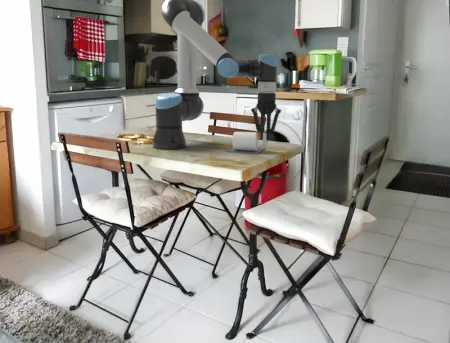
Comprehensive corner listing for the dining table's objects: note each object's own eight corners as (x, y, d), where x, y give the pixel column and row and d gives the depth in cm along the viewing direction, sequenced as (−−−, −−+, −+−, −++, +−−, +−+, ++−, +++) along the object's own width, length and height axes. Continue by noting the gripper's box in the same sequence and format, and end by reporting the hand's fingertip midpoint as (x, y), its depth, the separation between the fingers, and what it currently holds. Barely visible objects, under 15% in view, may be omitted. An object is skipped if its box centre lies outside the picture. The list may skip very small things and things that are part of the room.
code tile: (225, 151, 192) (225, 151, 192) (235, 146, 205) (235, 146, 205) (257, 154, 188) (257, 153, 188) (265, 148, 201) (265, 148, 201)
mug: (255, 152, 190) (255, 133, 188) (232, 151, 192) (232, 133, 190) (259, 147, 201) (259, 130, 199) (237, 146, 203) (237, 129, 201)
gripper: (249, 92, 187) (248, 147, 192) (280, 93, 183) (277, 150, 188) (254, 91, 194) (252, 145, 199) (283, 92, 190) (281, 147, 195)
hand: (264, 147), depth 194 cm, fingers closed
